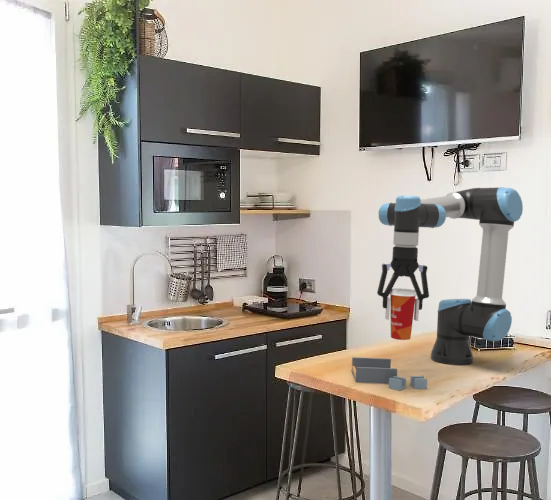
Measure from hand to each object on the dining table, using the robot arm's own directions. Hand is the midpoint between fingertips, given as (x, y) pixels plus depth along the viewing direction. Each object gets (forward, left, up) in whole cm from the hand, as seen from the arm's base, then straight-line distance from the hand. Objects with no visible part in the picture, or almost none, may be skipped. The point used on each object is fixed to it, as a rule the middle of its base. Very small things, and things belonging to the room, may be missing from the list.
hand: (401, 319), depth 187 cm
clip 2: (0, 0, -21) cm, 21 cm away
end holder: (+6, -11, -21) cm, 25 cm away
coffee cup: (0, 0, -6) cm, 6 cm away
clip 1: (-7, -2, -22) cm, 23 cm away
